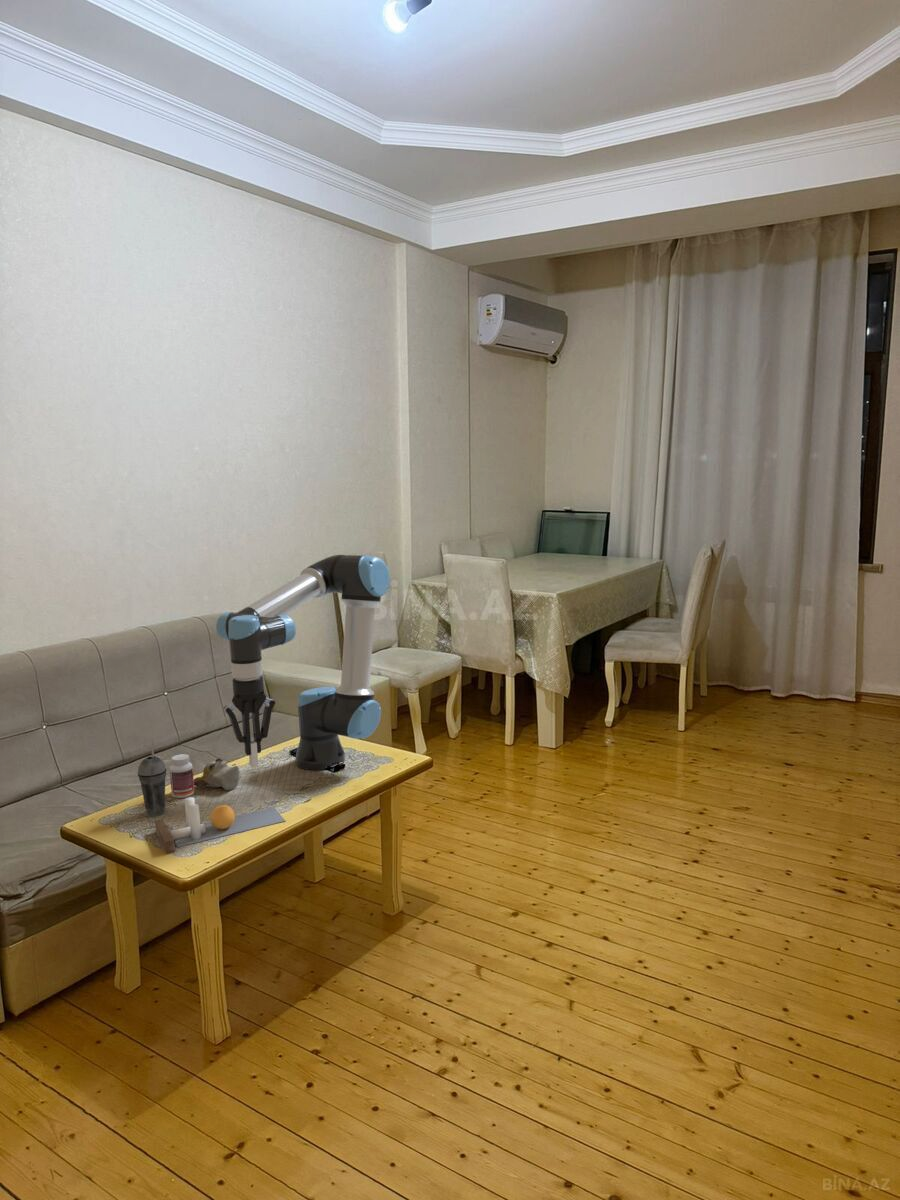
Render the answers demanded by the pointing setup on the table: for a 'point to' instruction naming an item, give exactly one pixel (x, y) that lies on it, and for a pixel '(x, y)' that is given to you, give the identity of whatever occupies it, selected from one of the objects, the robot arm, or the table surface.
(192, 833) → the back pin left
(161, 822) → the back wall
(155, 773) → the beverage cup
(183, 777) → the pill bottle
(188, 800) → the back pin right
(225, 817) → the ball
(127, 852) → the table surface
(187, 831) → the front pin
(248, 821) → the lane mat
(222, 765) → the ceramic sculpture
